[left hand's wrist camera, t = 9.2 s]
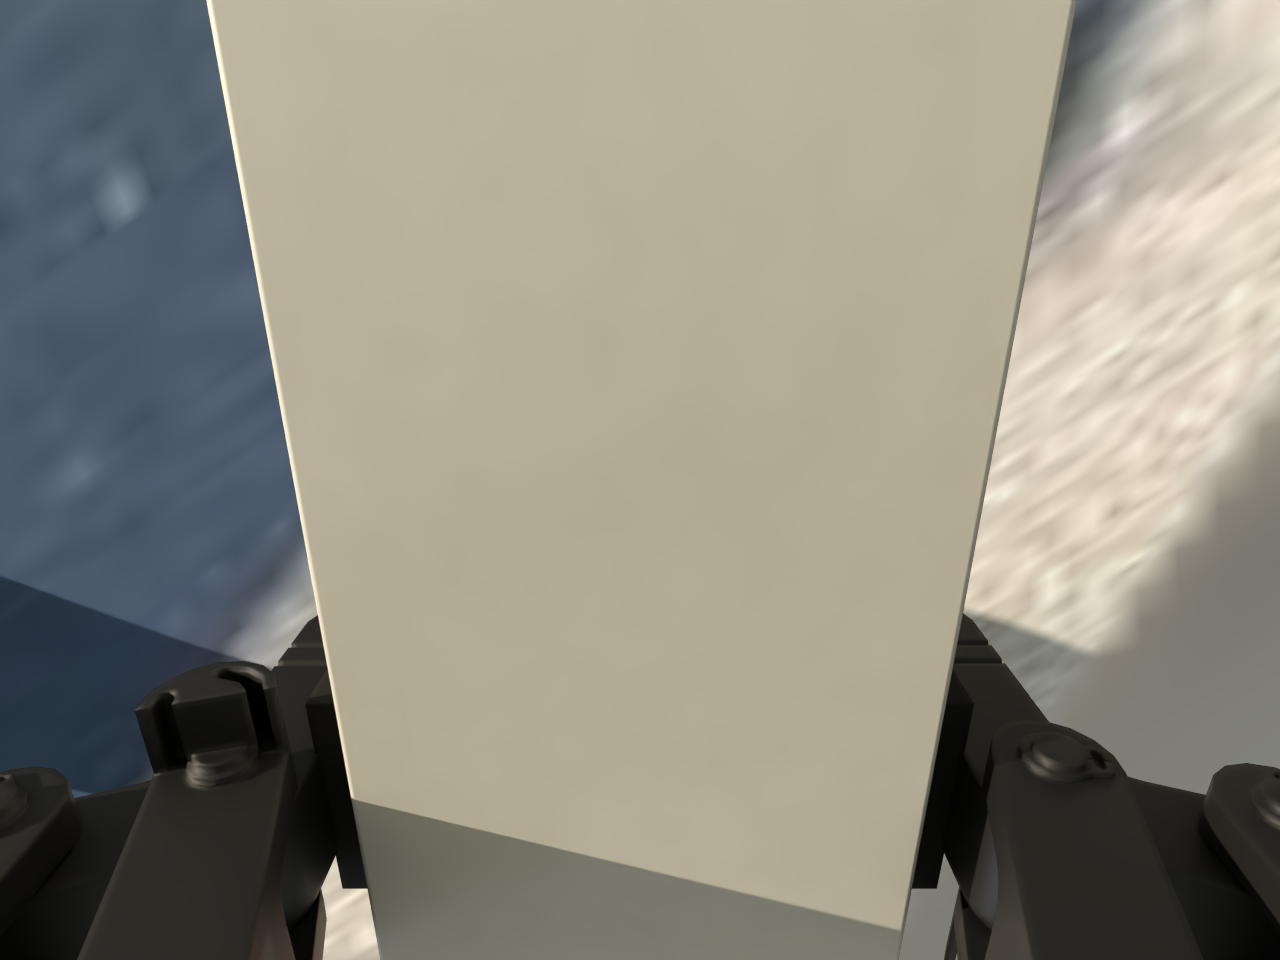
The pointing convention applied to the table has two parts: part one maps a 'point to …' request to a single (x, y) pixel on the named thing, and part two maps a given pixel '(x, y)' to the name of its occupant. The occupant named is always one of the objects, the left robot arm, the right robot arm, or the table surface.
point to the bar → (640, 439)
